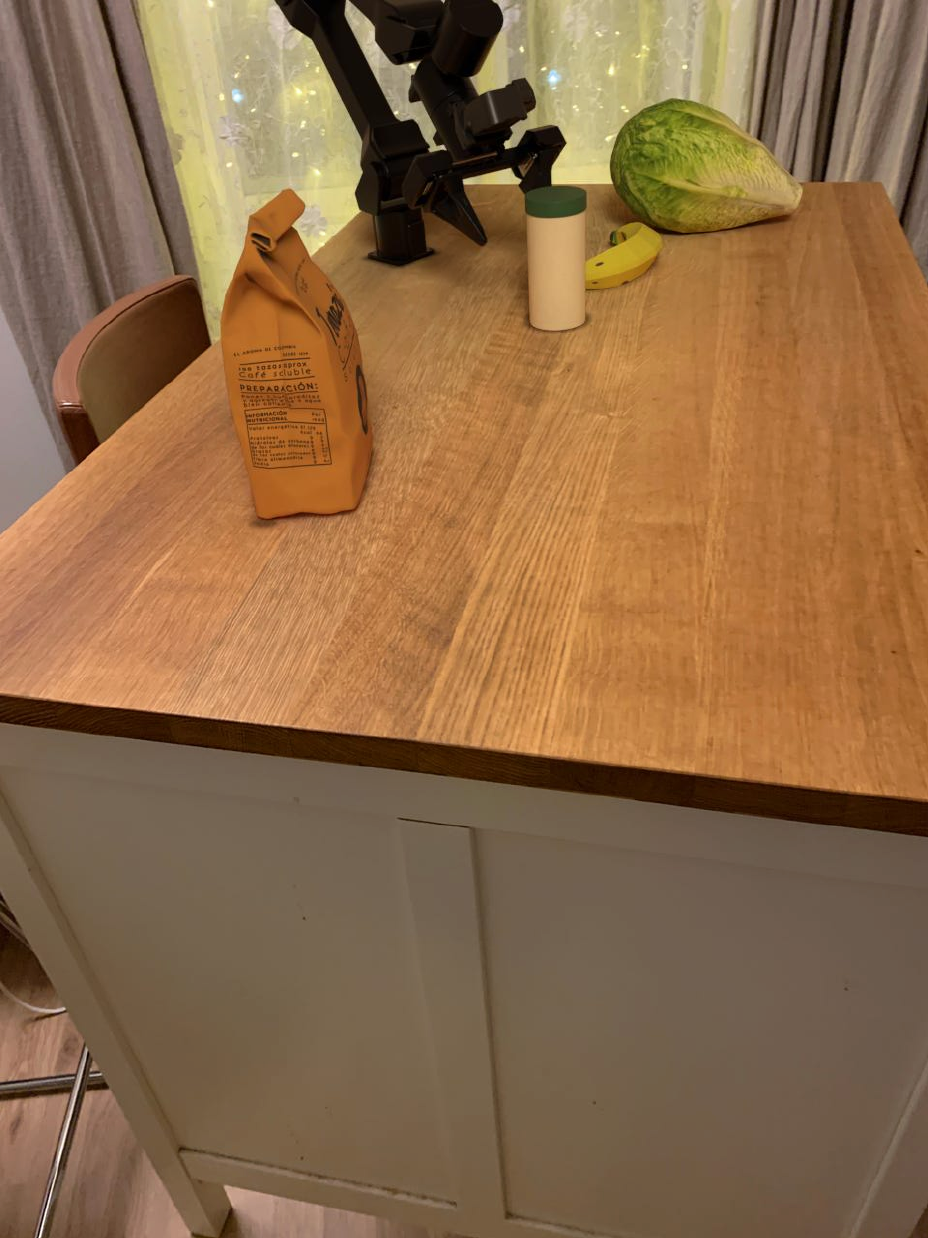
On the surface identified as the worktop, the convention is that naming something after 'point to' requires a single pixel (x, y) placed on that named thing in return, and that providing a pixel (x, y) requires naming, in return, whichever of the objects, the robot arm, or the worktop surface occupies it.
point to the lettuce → (697, 170)
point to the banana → (623, 257)
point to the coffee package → (293, 373)
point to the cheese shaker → (556, 256)
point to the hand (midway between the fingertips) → (519, 234)
